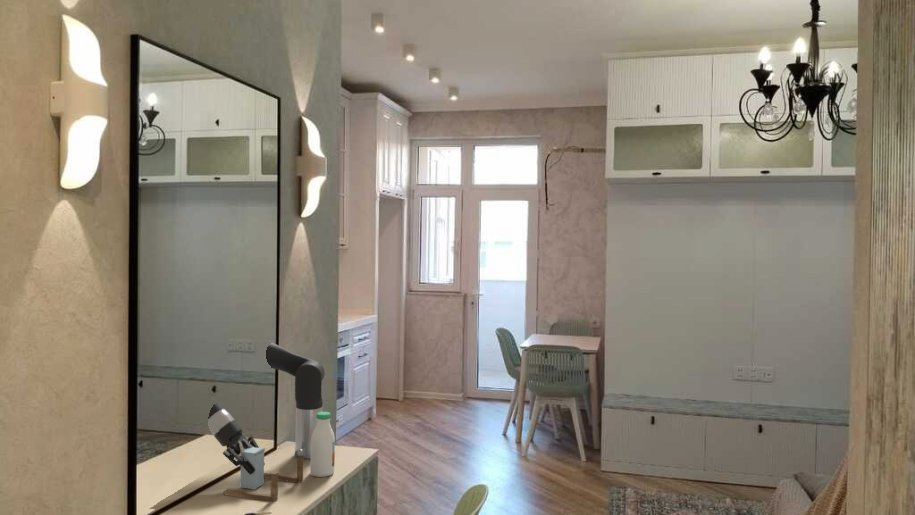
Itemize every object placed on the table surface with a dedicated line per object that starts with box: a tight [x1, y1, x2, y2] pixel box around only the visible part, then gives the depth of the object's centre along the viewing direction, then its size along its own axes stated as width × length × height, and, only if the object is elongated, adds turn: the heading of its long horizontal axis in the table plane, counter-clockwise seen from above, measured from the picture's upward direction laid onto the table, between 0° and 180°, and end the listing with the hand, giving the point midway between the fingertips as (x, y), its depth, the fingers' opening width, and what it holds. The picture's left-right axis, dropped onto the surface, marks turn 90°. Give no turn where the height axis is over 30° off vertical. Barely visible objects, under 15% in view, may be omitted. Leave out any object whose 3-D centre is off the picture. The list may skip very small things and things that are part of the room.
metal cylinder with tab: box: [294, 441, 306, 459], centre depth 209 cm, size 4×2×4 cm, turn 166°
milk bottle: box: [309, 411, 336, 478], centre depth 216 cm, size 8×8×20 cm
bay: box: [223, 456, 304, 502], centre depth 203 cm, size 18×17×8 cm
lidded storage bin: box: [239, 447, 266, 490], centre depth 204 cm, size 5×5×11 cm
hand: (257, 469), depth 203 cm, fingers closed on lidded storage bin, 5 cm apart
